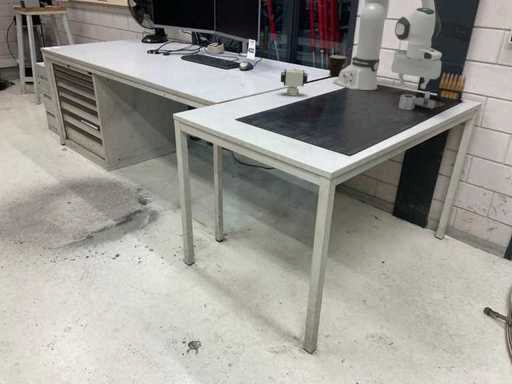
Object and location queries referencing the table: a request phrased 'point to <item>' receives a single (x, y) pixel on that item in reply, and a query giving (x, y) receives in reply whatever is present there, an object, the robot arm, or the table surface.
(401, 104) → the hub
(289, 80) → the pneumatic valve
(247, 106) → the table surface
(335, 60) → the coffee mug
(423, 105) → the shaft stand
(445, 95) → the ammunition clip
